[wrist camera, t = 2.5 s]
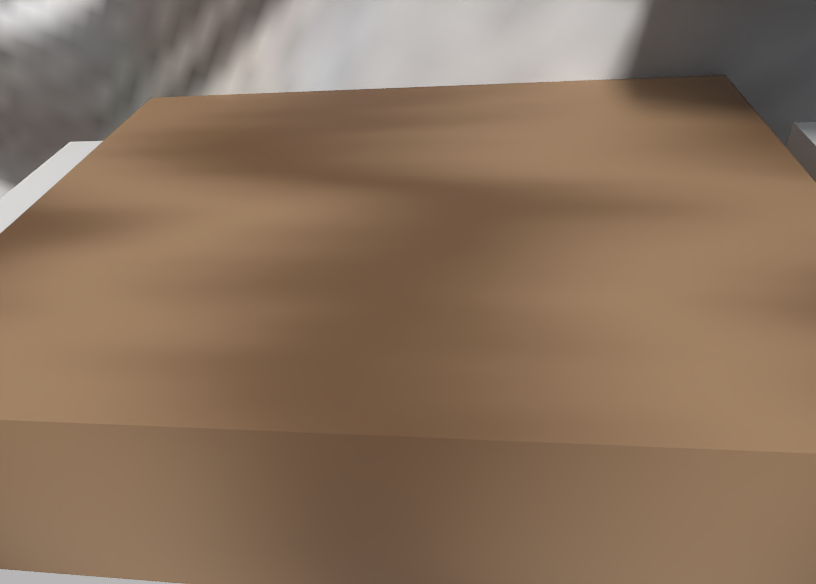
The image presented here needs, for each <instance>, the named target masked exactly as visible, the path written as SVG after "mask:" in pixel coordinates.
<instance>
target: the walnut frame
mask: <svg viewBox="0 0 816 584" xmlns="http://www.w3.org/2000/svg"><path fill="white" fill-rule="evenodd" d="M0 569H8V570H21V571H34V572H46V573H60V574H71V575H84V576H96V577H110V578H122V579H134V580H147V581H160V582H172V583H185V584H816V182H815V181H814V180H813V179H812V177H811V176H810V175H809V174H808V173H807V172H806V170H805V169H804V168H803V167H802V166H801V164H800V163H799V162H798V161H797V160H796V159H795V157H794V156H793V155H792V154H791V153H790V151H789V150H788V149H787V148H786V147H785V146H784V144H783V143H782V142H781V141H780V140H779V138H778V137H777V136H776V135H775V134H774V132H773V131H772V130H771V129H770V128H769V127H768V125H767V124H766V123H765V122H764V121H763V119H762V118H761V117H760V116H759V115H758V114H757V112H756V111H755V110H754V109H753V108H752V106H751V105H750V104H749V103H748V102H747V100H746V99H745V98H744V97H743V96H742V95H741V93H740V92H739V91H738V90H737V89H736V87H735V86H734V85H733V84H732V83H731V82H730V80H729V79H728V78H727V77H726V76H725V75H713V76H688V77H663V78H638V79H613V80H587V81H562V82H537V83H512V84H487V85H461V86H436V87H411V88H386V89H361V90H335V91H310V92H285V93H260V94H235V95H209V96H184V97H159V98H151V99H149V100H148V101H147V102H146V103H145V104H144V105H143V106H142V107H141V108H139V109H138V110H137V111H136V112H135V113H134V114H133V115H132V116H131V117H129V118H128V119H127V120H126V121H125V122H124V123H123V124H122V125H121V126H119V127H118V128H117V129H116V130H115V131H114V132H113V133H112V134H110V135H109V136H108V137H107V138H106V139H105V140H104V141H103V142H102V143H100V144H99V145H98V146H97V147H96V148H95V149H94V150H93V151H92V152H90V153H89V154H88V155H87V156H86V157H85V158H84V159H83V160H82V161H80V162H79V163H78V164H77V165H76V166H75V167H74V168H73V169H72V170H70V171H69V172H68V173H67V174H66V175H65V176H64V177H63V178H62V179H60V180H59V181H58V182H57V183H56V184H55V185H54V186H53V187H52V188H50V189H49V190H48V191H47V192H46V193H45V194H44V195H43V196H42V197H40V198H39V199H38V200H37V201H36V202H35V203H34V204H33V205H32V206H30V207H29V208H28V209H27V210H26V211H25V212H24V213H23V214H22V215H20V216H19V217H18V218H17V219H16V220H15V221H14V222H13V223H12V224H10V225H9V226H8V227H7V228H6V229H5V230H4V231H3V232H2V233H0Z"/></svg>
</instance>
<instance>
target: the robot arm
mask: <svg viewBox="0 0 816 584" xmlns="http://www.w3.org/2000/svg"><path fill="white" fill-rule="evenodd" d="M102 142H103V141H85V142H69V143H68V144H67V145H66V146H64V147H63V148H62V149H61V150H60V151H58V152H57V153H56V154H55V155H53V156H52V157H51V158H50V159H49V160H47V161H46V162H45V163H44V164H42V165H41V166H40V167H39V168H37V169H36V170H35V171H34V172H33V173H31V174H30V175H29V176H28V177H26V178H25V179H24V180H23V181H21V182H20V183H19V184H18V185H17V186H15V187H14V188H13V189H12V190H10V191H9V192H8V193H7V194H6V195H4V196H3V197H2V198H1V199H0V233H2V232H3V231H4V230H5V229H6V228H7V227H8V226H9V225H10V224H12V223H13V222H14V221H15V220H16V219H17V218H18V217H19V216H20V215H22V214H23V213H24V212H25V211H26V210H27V209H28V208H29V207H30V206H32V205H33V204H34V203H35V202H36V201H37V200H38V199H39V198H40V197H42V196H43V195H44V194H45V193H46V192H47V191H48V190H49V189H50V188H52V187H53V186H54V185H55V184H56V183H57V182H58V181H59V180H60V179H62V178H63V177H64V176H65V175H66V174H67V173H68V172H69V171H70V170H72V169H73V168H74V167H75V166H76V165H77V164H78V163H79V162H80V161H82V160H83V159H84V158H85V157H86V156H87V155H88V154H89V153H90V152H92V151H93V150H94V149H95V148H96V147H97V146H98V145H99V144H100V143H102ZM785 147H786V148H787V149H788V150H789V151H790V153H791V154H792V155H793V156H794V157H795V159H796V160H797V161H798V162H799V163H800V164H801V166H802V167H803V168H804V169H805V170H806V172H807V173H808V174H809V175H810V176H811V177H812V179H813V180H814V181H815V182H816V122H794V123H793V126H792V128H791V131H790V134H789V136H788V139H787V142H786V144H785Z"/></svg>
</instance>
